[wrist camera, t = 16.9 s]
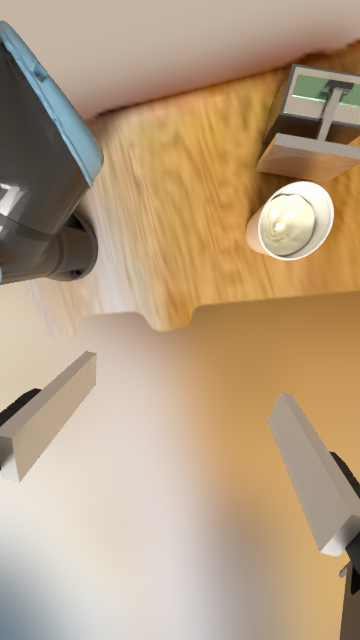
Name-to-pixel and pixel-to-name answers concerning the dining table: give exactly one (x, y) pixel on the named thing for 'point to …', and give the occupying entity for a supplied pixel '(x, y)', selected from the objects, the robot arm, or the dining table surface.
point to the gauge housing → (314, 106)
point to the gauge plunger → (312, 147)
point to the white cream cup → (291, 221)
